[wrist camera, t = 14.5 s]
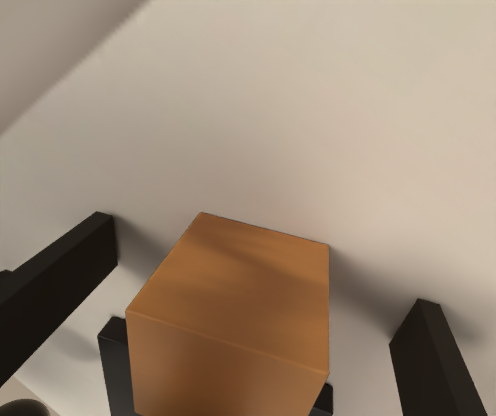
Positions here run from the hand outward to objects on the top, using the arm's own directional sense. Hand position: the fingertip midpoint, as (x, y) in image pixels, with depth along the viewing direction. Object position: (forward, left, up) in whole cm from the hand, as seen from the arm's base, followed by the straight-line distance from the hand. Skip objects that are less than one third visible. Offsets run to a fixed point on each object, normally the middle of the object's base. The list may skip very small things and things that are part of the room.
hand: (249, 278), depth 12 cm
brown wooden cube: (0, 0, 0) cm, 0 cm away
